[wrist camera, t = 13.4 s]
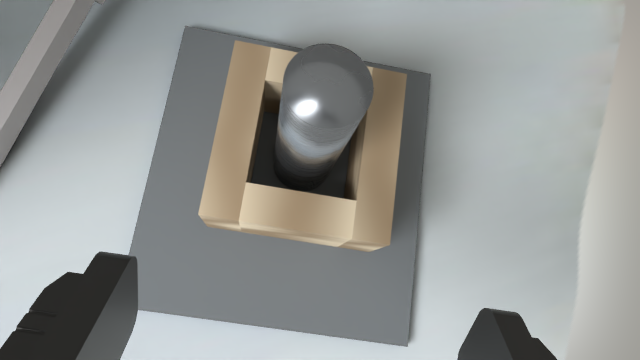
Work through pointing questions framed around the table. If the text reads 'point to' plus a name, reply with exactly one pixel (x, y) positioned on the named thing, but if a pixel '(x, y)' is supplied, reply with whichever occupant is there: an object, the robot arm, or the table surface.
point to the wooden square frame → (289, 205)
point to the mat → (264, 251)
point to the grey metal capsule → (319, 112)
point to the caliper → (38, 66)
